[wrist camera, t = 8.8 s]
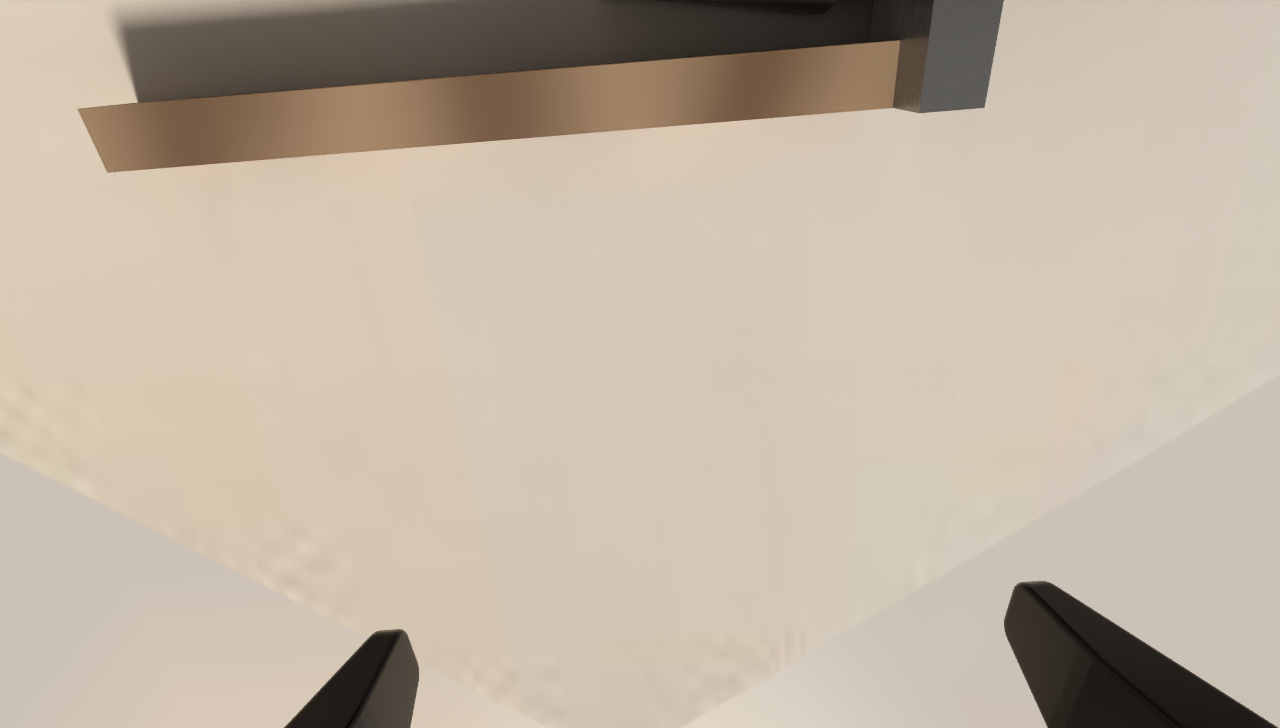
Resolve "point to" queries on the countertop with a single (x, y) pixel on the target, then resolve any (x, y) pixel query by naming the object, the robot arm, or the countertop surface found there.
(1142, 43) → the countertop surface
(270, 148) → the guide track
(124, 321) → the countertop surface
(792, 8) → the phone stand
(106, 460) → the countertop surface
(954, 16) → the end stop
